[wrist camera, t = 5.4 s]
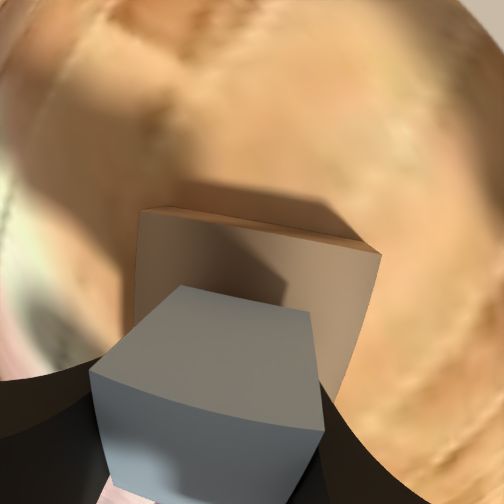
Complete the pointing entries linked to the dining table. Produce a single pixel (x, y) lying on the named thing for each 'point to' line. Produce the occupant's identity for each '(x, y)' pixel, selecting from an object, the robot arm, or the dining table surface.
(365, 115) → the dining table surface
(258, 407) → the pale grey-blue block
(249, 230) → the tan block
